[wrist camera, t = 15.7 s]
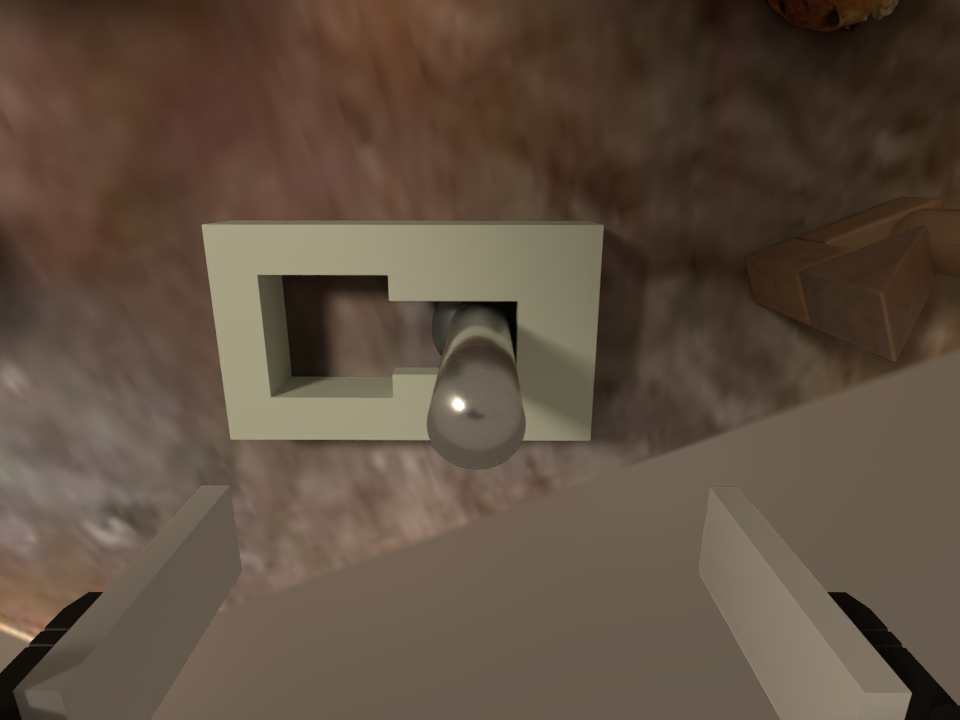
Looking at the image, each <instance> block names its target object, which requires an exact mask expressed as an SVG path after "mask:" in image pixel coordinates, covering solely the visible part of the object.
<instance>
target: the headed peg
mask: <svg viewBox="0 0 960 720" xmlns="http://www.w3.org/2000/svg"><path fill="white" fill-rule="evenodd" d="M516 312H517V301H439V303H438V305H437V307H436V310H435V312H434V316H433V320H432V336H433V341H434V343H435V346H436V348H437V350H438V352H439V353H440V355H441V356H442V358H441V362H440V366H439V370H438V374H437V378H436V382H435V386H434V390H433V395H432V399H431V403H430V407H429V411H428V416H427V432H428V436H429V439H430V441H431V443H432V445H433V447H434V448H435V450H436V451H437V452H438V453H439V454H440V455H441V456H442V457H443V458H444V459H445V460H447V461H448V462H450V463H452V464H454V465H456V466H459V467H462V468H466V469H474V470H479V469H487V468H491V467H494V466H497V465H499V464H501V463H503V462H505V461H506V460H507V459H509V458H510V457H511V456H512V455H513V454H514V453H515V452H516V451H517V449H518V448H519V446H520V445H521V443H522V440H523V438H524V434H525V429H526V418H525V413H524V407H523V402H522V396H521V391H520V385H519V380H518V374H517V368H516V363H515V358H516Z"/></svg>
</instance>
